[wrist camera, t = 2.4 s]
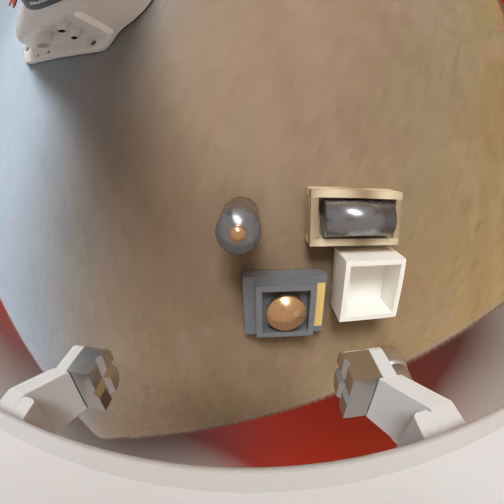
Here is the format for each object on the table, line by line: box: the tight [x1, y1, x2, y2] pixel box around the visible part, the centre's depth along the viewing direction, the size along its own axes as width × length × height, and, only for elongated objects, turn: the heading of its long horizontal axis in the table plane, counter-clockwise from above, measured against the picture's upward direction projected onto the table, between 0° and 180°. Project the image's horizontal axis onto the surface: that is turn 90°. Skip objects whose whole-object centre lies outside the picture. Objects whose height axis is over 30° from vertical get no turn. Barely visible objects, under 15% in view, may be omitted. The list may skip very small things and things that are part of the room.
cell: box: [215, 197, 261, 254], centre depth 29 cm, size 4×4×9 cm
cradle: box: [242, 269, 327, 338], centre depth 35 cm, size 10×8×4 cm
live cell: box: [320, 200, 397, 237], centre depth 31 cm, size 9×4×4 cm, turn 91°
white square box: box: [330, 246, 406, 322], centre depth 33 cm, size 8×8×5 cm
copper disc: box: [266, 294, 306, 331], centre depth 34 cm, size 5×5×1 cm
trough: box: [305, 187, 403, 247], centre depth 32 cm, size 11×6×3 cm, turn 91°
